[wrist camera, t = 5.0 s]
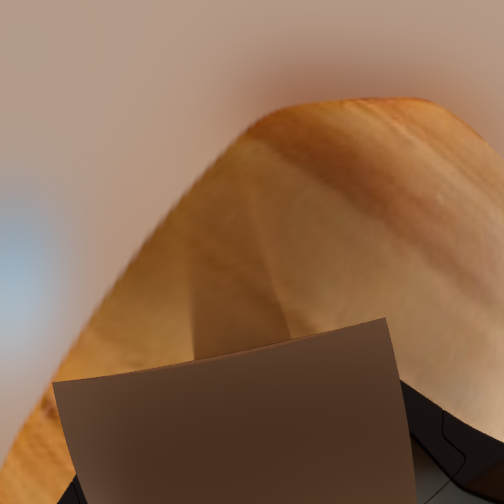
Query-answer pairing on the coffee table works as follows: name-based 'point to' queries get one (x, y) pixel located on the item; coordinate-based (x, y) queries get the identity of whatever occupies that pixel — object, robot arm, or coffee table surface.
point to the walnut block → (248, 426)
